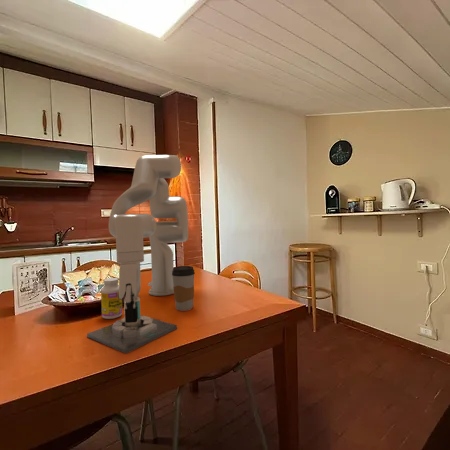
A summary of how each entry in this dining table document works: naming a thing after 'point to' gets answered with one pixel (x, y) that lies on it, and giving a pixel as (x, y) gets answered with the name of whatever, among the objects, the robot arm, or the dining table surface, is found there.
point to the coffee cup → (183, 287)
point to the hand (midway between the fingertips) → (132, 318)
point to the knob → (137, 314)
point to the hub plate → (132, 341)
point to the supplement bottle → (111, 299)
